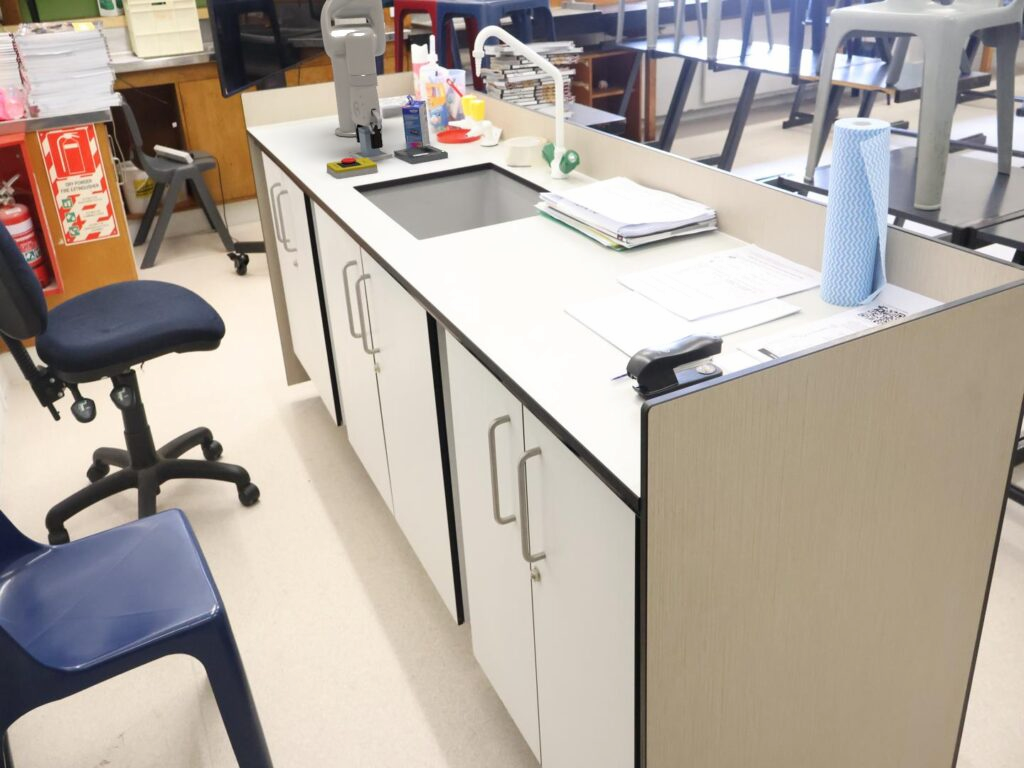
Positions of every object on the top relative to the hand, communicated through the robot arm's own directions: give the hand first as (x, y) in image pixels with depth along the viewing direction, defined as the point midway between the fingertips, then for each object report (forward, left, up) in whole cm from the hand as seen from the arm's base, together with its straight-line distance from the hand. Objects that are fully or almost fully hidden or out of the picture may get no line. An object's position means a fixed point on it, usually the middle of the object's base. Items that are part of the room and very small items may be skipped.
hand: (369, 145), depth 251 cm
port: (+9, +11, -4) cm, 15 cm away
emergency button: (+11, -10, -5) cm, 16 cm away
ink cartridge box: (-5, +17, -4) cm, 18 cm away
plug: (0, 0, -3) cm, 3 cm away
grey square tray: (0, 0, -4) cm, 4 cm away
